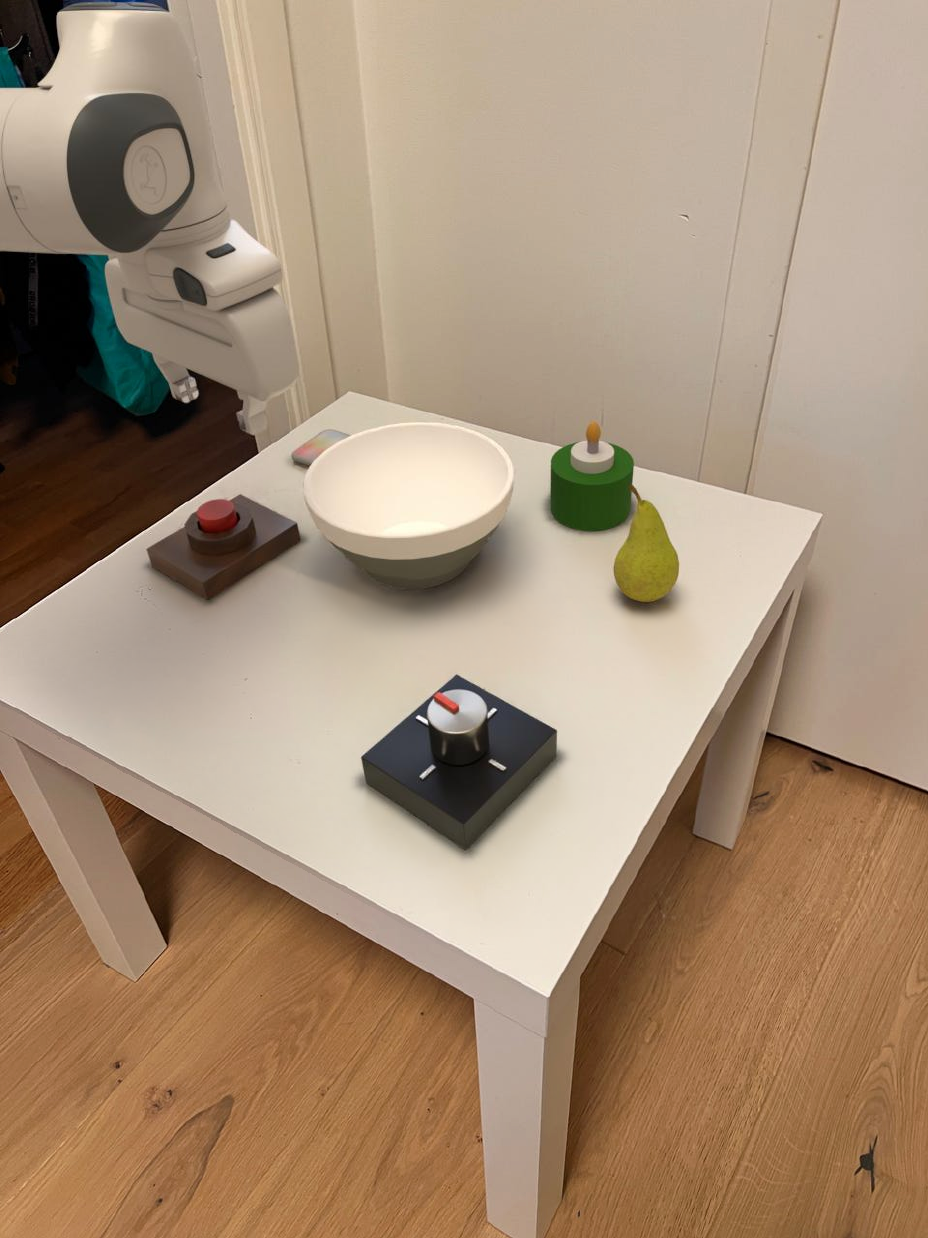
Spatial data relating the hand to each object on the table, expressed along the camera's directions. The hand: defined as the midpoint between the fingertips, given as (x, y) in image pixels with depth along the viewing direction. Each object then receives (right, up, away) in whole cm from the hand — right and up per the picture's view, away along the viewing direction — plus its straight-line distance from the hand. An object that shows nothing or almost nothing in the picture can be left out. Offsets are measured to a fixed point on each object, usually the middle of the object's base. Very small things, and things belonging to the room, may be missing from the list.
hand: (219, 413), depth 80 cm
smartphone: (+9, 0, +26) cm, 28 cm away
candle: (+34, -6, +18) cm, 39 cm away
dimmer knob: (+21, -27, -10) cm, 35 cm away
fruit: (+37, -16, +6) cm, 41 cm away
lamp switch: (-3, -11, +15) cm, 18 cm away
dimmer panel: (+21, -29, -8) cm, 37 cm away
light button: (-3, -8, +12) cm, 15 cm away
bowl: (+16, -12, +13) cm, 24 cm away
